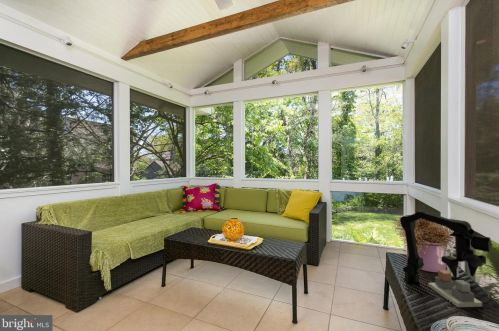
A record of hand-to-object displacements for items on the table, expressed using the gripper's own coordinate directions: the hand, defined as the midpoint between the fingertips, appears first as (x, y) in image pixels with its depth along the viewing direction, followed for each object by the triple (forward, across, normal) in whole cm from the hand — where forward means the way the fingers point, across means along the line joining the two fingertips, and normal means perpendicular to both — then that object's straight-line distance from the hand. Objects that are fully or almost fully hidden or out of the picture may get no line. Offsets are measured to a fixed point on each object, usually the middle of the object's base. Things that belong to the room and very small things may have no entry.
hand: (463, 276), depth 119 cm
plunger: (+8, -1, 0) cm, 8 cm away
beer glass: (+13, +18, +26) cm, 34 cm away
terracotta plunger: (+8, 0, +11) cm, 13 cm away
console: (+13, -1, +6) cm, 14 cm away
